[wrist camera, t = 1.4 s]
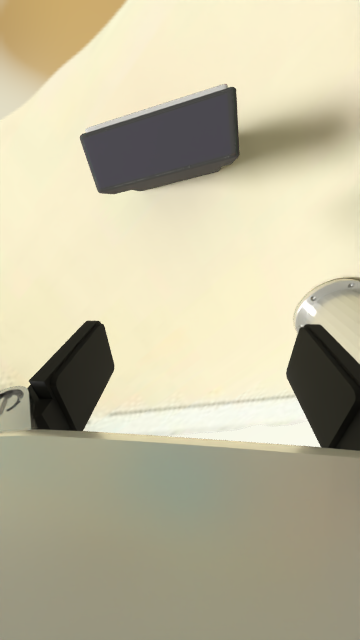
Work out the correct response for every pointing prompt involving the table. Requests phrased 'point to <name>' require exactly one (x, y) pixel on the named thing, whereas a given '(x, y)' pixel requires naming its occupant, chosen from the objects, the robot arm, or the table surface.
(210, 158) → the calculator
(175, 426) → the table surface
